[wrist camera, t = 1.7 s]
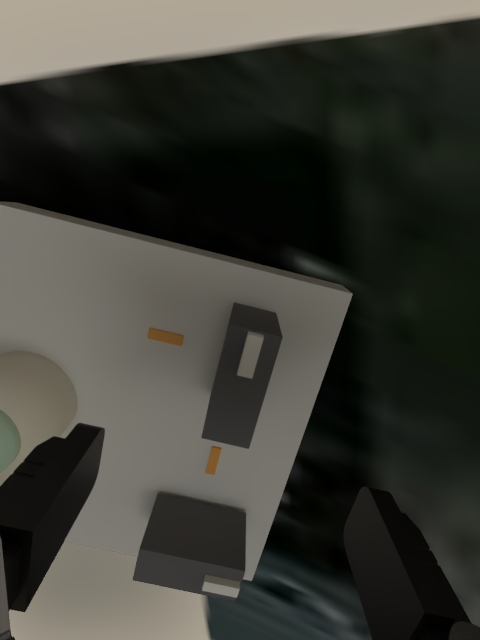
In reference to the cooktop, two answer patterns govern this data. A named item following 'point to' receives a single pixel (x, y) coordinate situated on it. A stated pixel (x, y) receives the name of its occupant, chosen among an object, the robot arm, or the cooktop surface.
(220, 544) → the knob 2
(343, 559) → the cooktop surface
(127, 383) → the base plate
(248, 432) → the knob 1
